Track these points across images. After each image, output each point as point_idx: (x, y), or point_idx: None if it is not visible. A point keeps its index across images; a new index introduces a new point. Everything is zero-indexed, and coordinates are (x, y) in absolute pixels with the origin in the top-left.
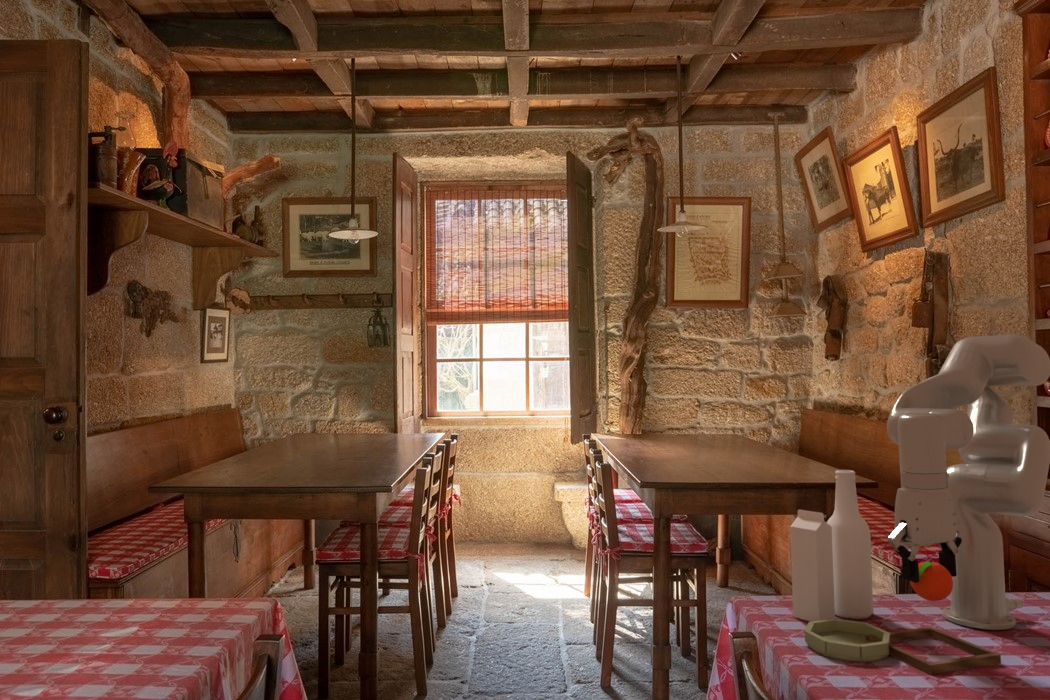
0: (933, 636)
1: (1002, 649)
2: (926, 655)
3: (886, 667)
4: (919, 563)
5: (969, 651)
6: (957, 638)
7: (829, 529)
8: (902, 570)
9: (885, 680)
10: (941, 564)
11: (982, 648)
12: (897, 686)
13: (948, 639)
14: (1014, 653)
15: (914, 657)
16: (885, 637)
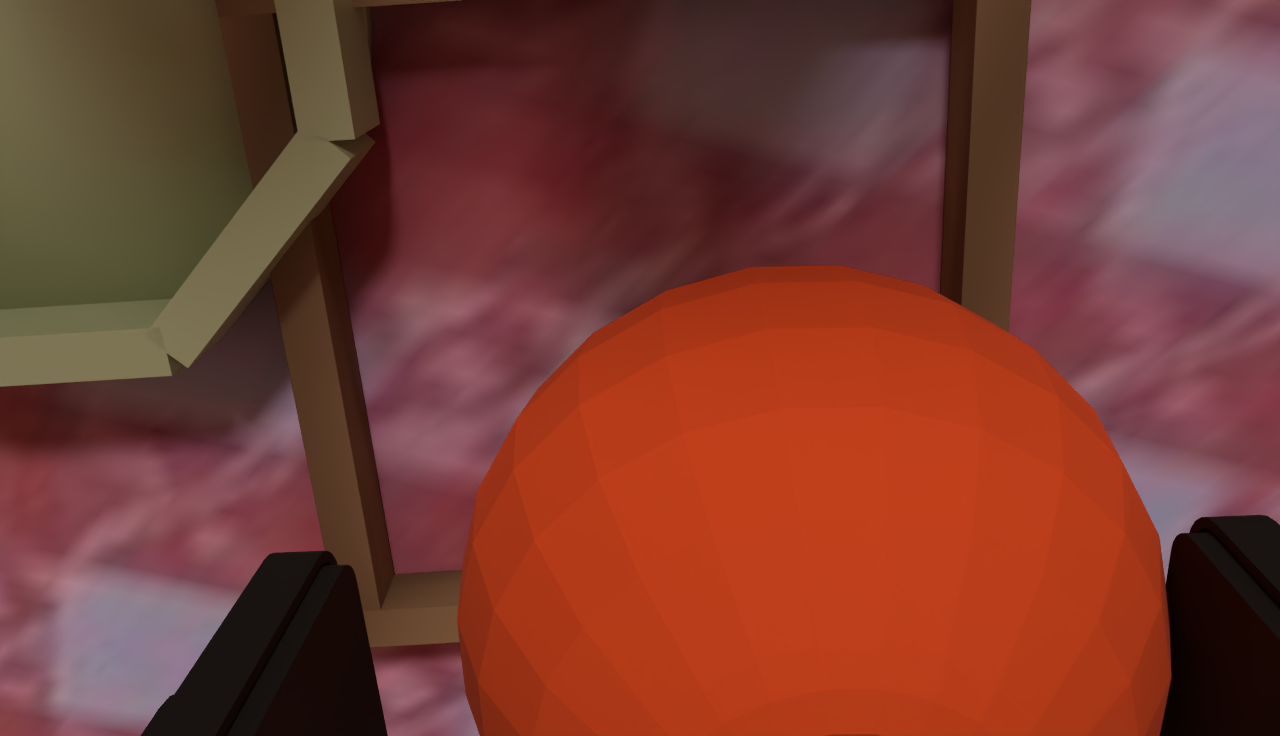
0: (957, 1)
1: (1249, 368)
2: (579, 330)
3: (128, 449)
4: (684, 694)
5: None
6: (993, 258)
7: None
8: (220, 627)
9: (5, 617)
10: (1251, 686)
11: None
12: (37, 699)
13: (958, 183)
14: (1248, 452)
15: (325, 516)
16: (238, 248)
